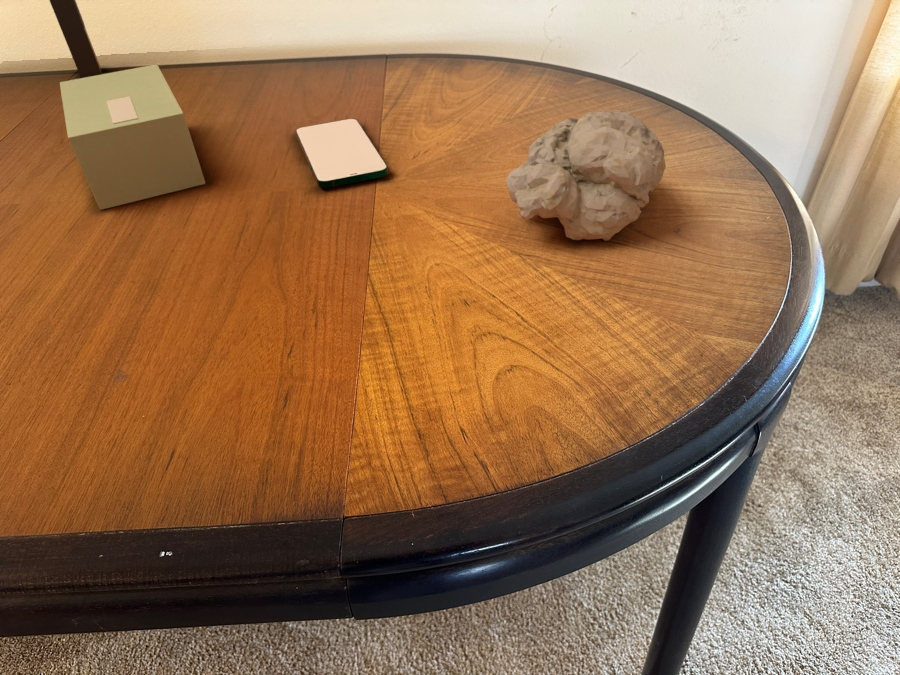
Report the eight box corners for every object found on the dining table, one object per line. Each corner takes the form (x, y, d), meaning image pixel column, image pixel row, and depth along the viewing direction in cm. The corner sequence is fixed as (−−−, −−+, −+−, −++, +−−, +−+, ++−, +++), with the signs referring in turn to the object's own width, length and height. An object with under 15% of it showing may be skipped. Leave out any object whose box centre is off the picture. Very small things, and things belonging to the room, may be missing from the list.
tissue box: (87, 147, 81) (58, 81, 75) (178, 127, 84) (156, 63, 79) (100, 210, 68) (67, 136, 63) (205, 183, 72) (183, 112, 66)
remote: (82, 81, 99) (44, -13, 91) (80, 72, 103) (43, -20, 94) (104, 77, 100) (68, -17, 92) (101, 68, 104) (67, -23, 95)
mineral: (470, 187, 64) (496, 117, 55) (601, 131, 70) (644, 59, 61) (540, 288, 61) (580, 231, 52) (671, 220, 67) (727, 159, 58)
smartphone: (295, 135, 81) (319, 191, 69) (293, 128, 80) (317, 183, 68) (357, 124, 82) (391, 176, 71) (356, 117, 82) (390, 168, 70)
